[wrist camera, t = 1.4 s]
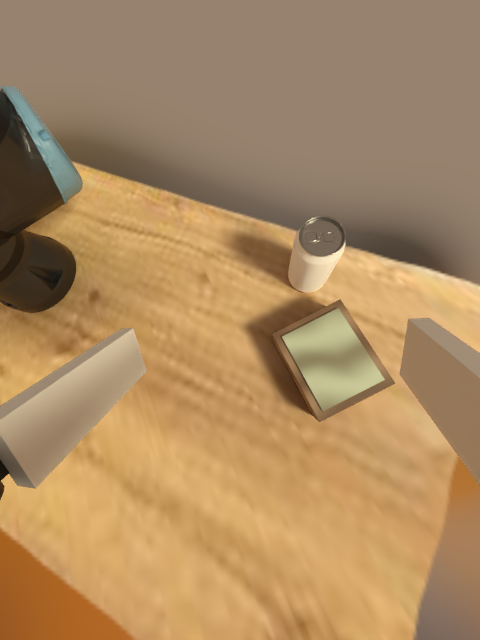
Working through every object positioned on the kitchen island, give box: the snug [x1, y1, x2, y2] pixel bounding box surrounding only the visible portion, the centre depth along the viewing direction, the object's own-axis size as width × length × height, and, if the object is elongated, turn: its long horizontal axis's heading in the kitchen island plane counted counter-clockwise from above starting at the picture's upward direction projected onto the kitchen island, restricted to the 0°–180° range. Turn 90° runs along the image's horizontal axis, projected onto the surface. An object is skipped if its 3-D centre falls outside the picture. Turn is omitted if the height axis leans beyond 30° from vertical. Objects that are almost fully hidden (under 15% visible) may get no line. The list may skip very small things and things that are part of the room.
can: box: [288, 216, 346, 293], centre depth 35 cm, size 6×6×12 cm
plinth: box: [272, 300, 395, 422], centre depth 34 cm, size 13×11×5 cm
